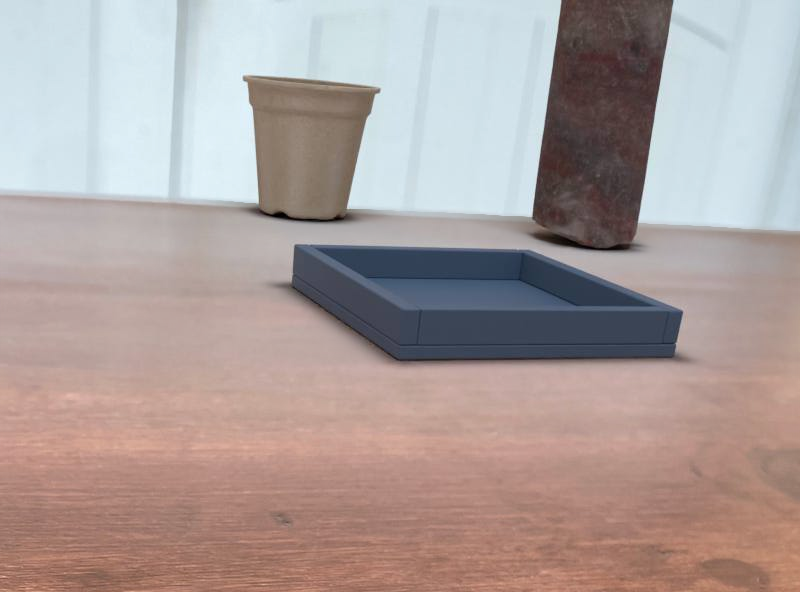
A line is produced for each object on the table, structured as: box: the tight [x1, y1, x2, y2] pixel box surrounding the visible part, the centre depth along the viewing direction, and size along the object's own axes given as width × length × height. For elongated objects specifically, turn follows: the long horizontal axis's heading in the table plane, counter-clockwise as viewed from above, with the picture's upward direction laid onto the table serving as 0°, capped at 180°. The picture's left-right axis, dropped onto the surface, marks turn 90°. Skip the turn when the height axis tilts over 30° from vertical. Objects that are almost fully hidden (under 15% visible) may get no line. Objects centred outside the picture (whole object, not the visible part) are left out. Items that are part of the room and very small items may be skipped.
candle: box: [531, 0, 675, 249], centre depth 79 cm, size 8×7×20 cm
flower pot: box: [242, 74, 382, 221], centre depth 83 cm, size 9×9×9 cm
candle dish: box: [291, 243, 684, 361], centre depth 57 cm, size 14×15×2 cm
